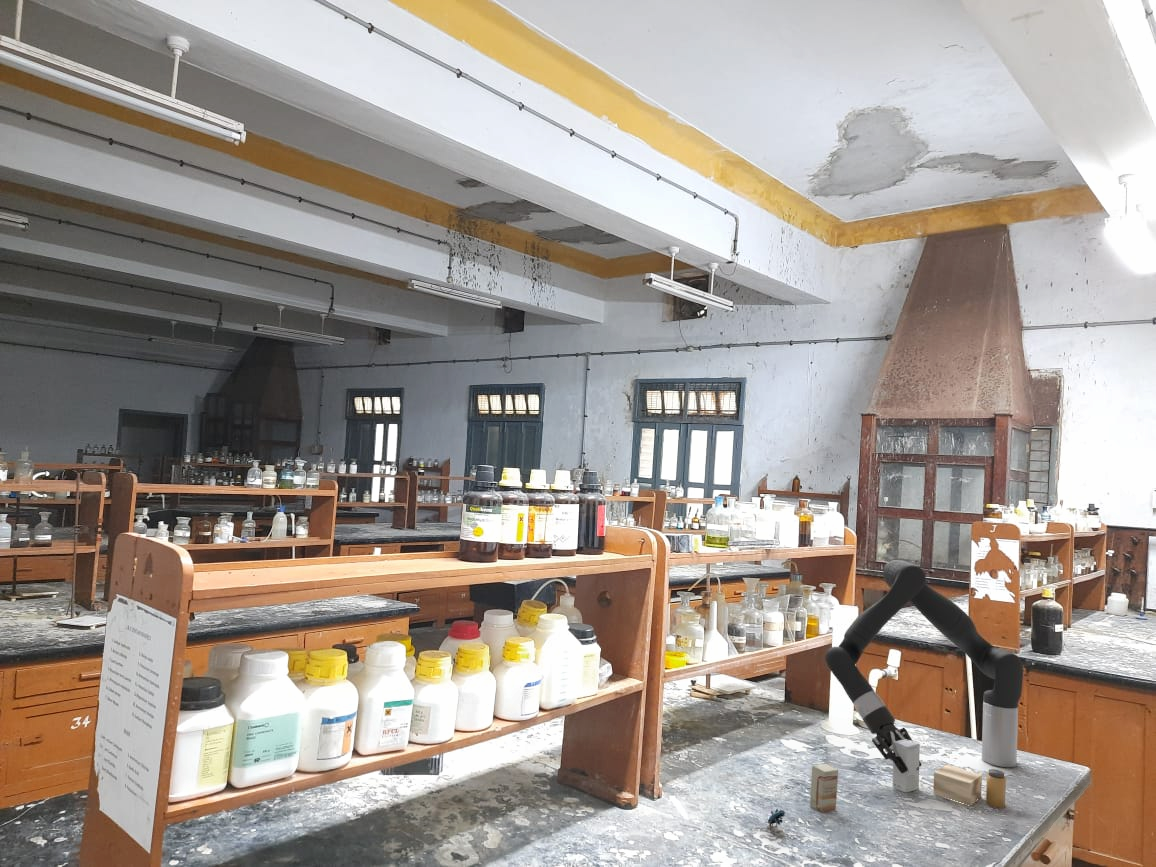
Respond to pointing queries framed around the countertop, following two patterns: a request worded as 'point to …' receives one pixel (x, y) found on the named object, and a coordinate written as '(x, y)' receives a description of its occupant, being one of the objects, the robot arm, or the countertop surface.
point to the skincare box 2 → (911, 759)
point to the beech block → (957, 784)
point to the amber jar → (996, 788)
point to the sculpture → (775, 819)
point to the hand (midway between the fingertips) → (912, 769)
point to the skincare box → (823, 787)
